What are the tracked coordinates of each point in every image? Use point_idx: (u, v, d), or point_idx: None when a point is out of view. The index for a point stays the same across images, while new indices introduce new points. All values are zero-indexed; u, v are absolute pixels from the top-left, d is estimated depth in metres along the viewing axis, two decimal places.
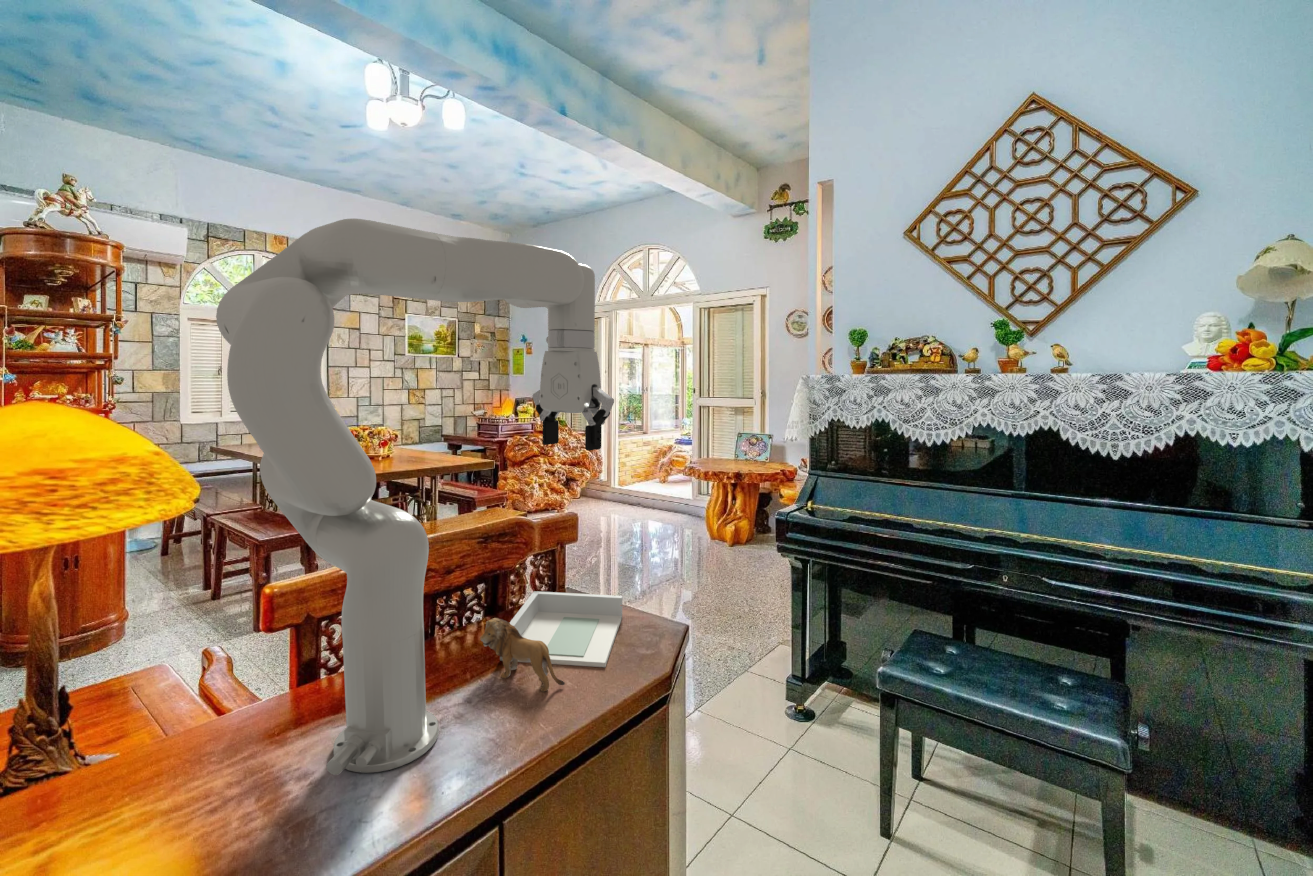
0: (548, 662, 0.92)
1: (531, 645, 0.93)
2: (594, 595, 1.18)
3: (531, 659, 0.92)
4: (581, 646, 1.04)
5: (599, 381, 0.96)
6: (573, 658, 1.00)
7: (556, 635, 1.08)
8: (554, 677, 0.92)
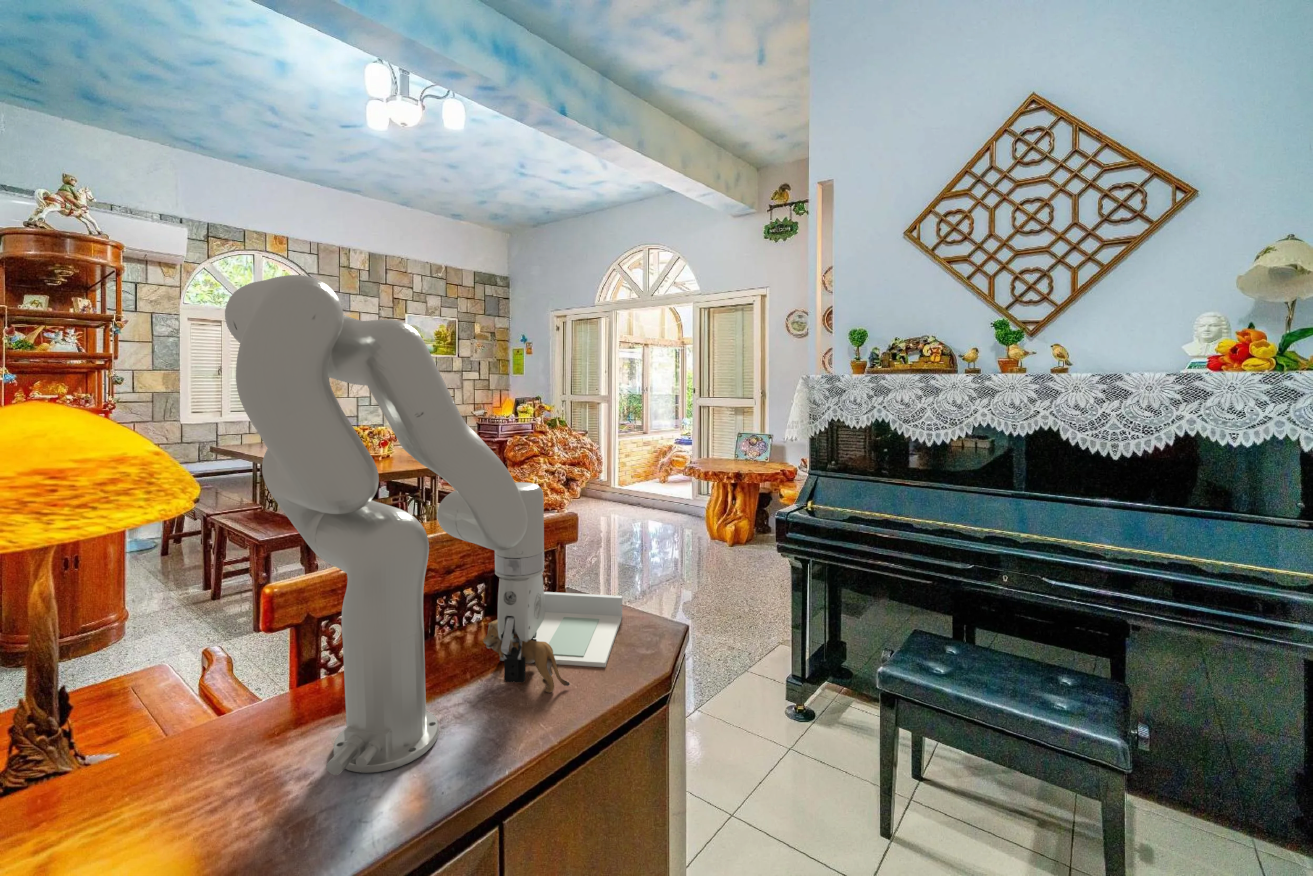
0: (553, 663, 0.91)
1: (536, 646, 0.92)
2: (594, 595, 1.18)
3: (536, 660, 0.92)
4: (581, 646, 1.04)
5: None
6: (573, 658, 1.00)
7: (556, 635, 1.08)
8: (559, 678, 0.92)
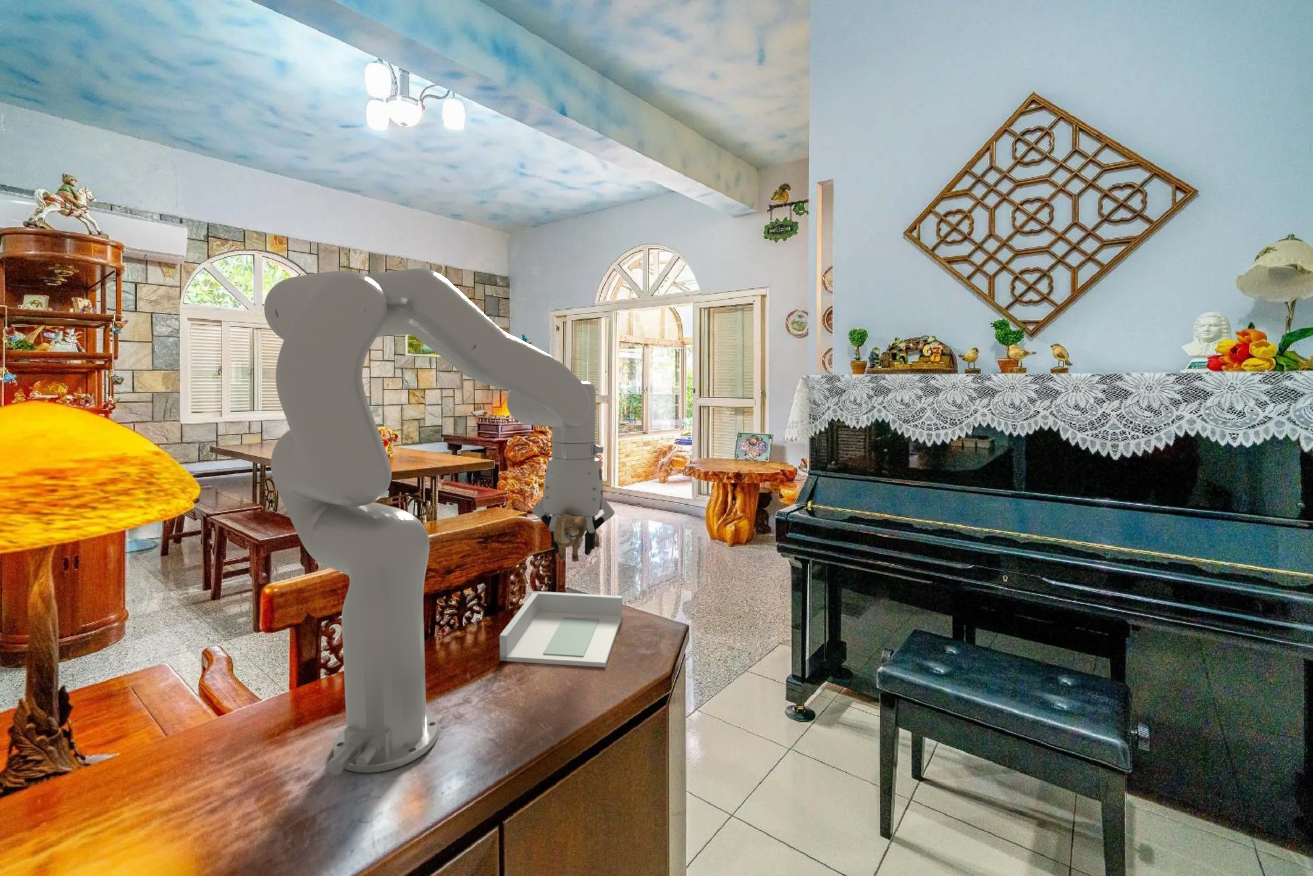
0: None
1: None
2: (594, 595, 1.18)
3: None
4: (581, 646, 1.04)
5: (544, 486, 1.04)
6: (573, 658, 1.00)
7: (556, 635, 1.08)
8: None
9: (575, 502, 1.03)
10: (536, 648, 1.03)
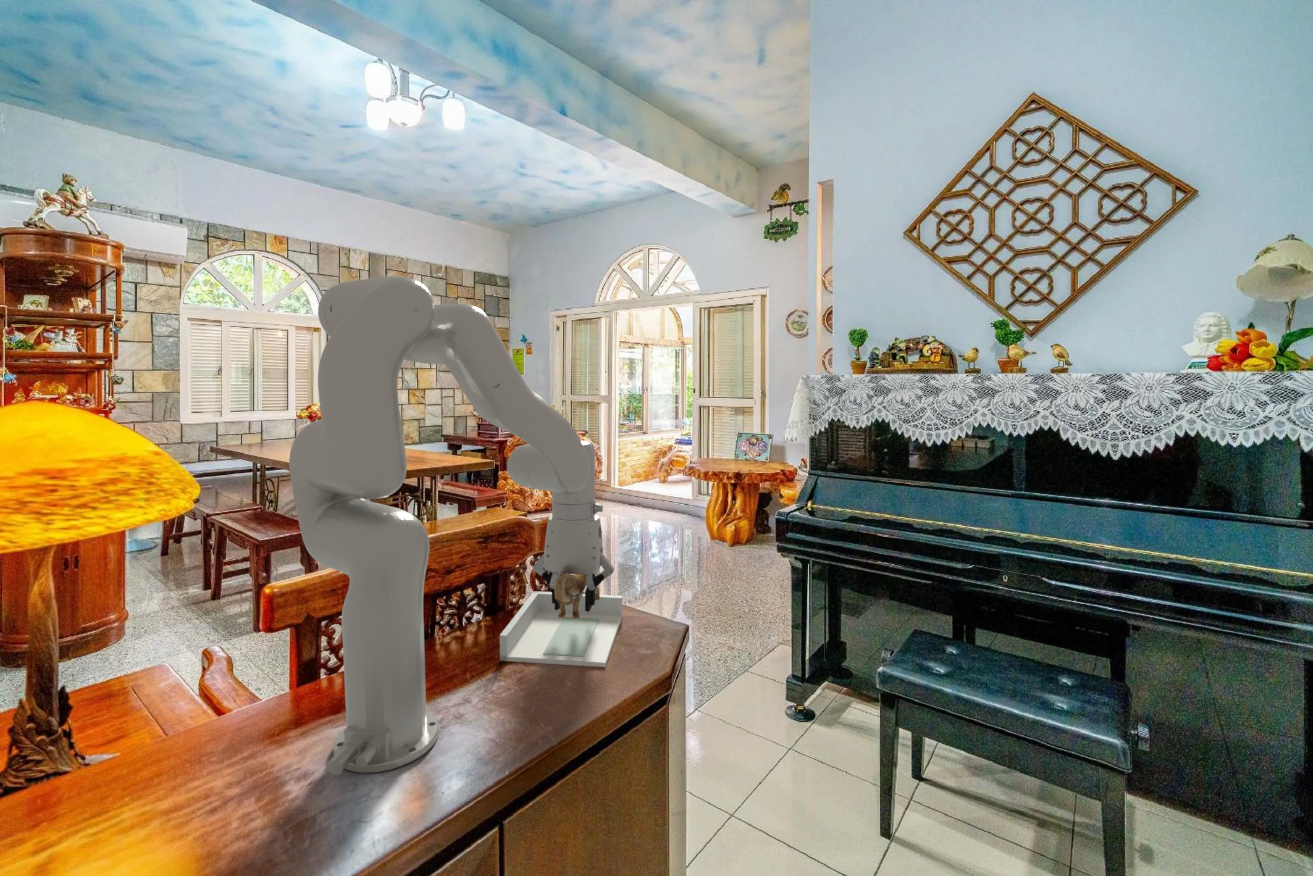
0: None
1: None
2: None
3: None
4: (581, 646, 1.04)
5: None
6: (573, 658, 1.00)
7: (556, 635, 1.08)
8: None
9: (575, 561, 1.04)
10: (536, 648, 1.03)
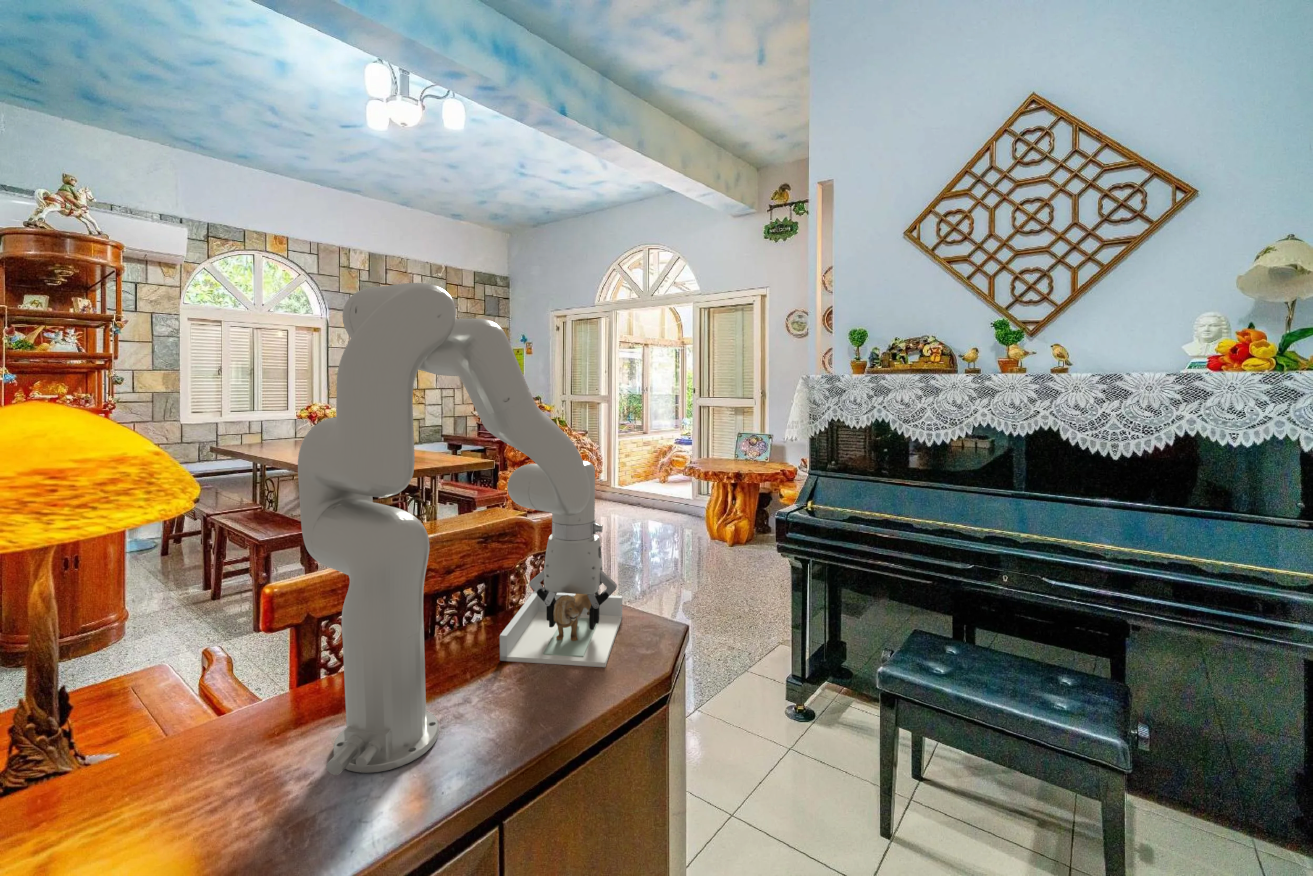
0: None
1: (585, 594, 1.11)
2: None
3: (590, 604, 1.11)
4: (581, 646, 1.04)
5: None
6: (573, 658, 1.00)
7: (556, 635, 1.08)
8: None
9: (575, 580, 1.05)
10: (536, 648, 1.03)
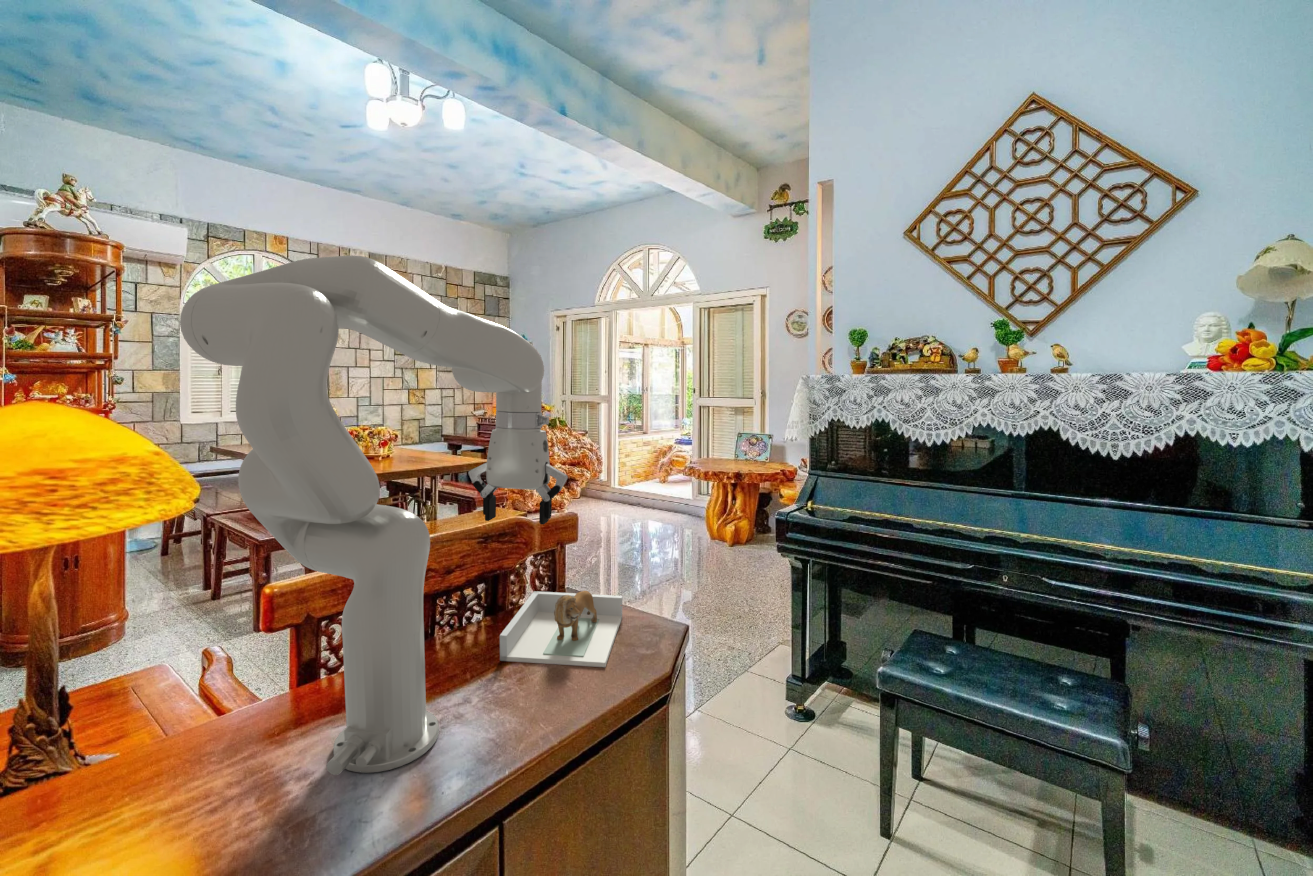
0: None
1: (585, 594, 1.11)
2: (594, 595, 1.18)
3: (590, 603, 1.11)
4: (581, 646, 1.04)
5: (487, 457, 1.01)
6: (573, 658, 1.00)
7: (556, 635, 1.08)
8: None
9: (518, 474, 1.00)
10: (536, 648, 1.03)
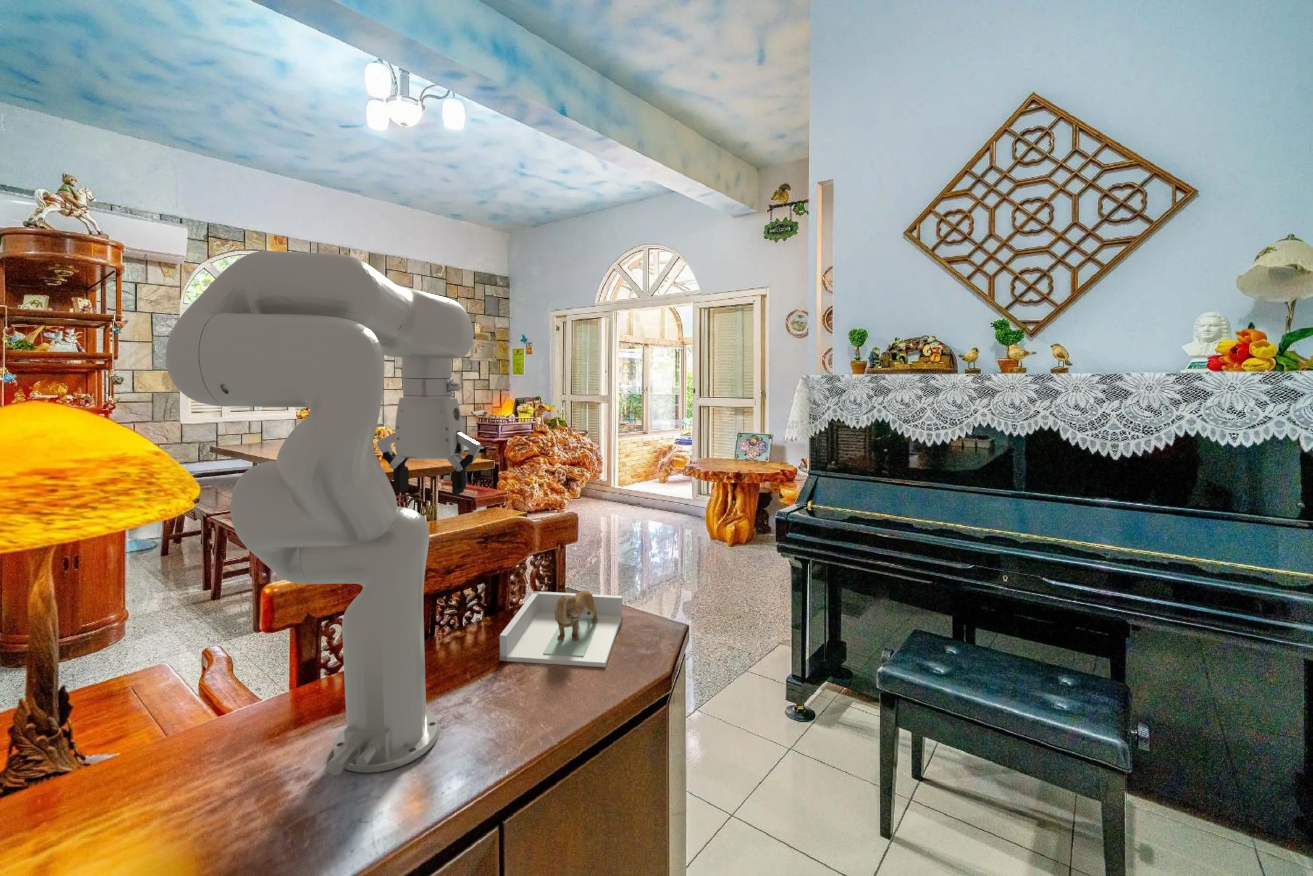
0: None
1: (585, 594, 1.11)
2: (594, 595, 1.18)
3: (590, 603, 1.11)
4: (581, 646, 1.04)
5: None
6: (573, 658, 1.00)
7: (556, 635, 1.08)
8: None
9: (427, 443, 0.96)
10: (536, 648, 1.03)
